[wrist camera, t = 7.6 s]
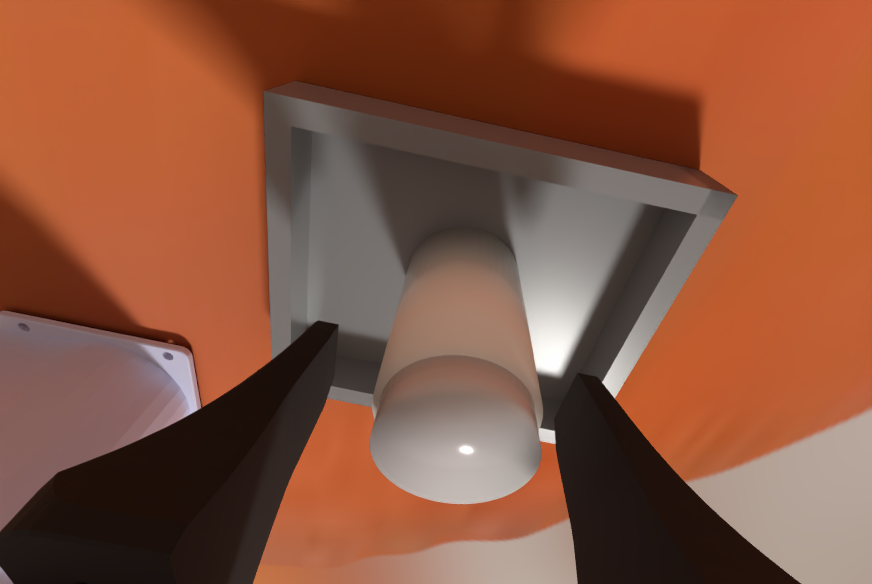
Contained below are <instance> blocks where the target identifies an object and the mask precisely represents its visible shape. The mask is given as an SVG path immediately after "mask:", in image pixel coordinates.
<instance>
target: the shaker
mask: <svg viewBox="0 0 872 584" xmlns="http://www.w3.org/2000/svg"><path fill="white" fill-rule="evenodd" d="M372 412H373V416H374V419H375V421H374V425H373V429H372V433H371V437H370V451H371V454H372V458H373V460H374V462H375V464H376V466H377V467H378V469H379V470H380V471H381V472H382V473H383V475H384V476H385V477H386V478H388V479H389V480H390V481H391V482H392V483H394V484H395V485H397V486H398V487H400V488H401V489H403V490H405V491H407V492H409V493H411V494H414V495H416V496H419V497H422V498H425V499H428V500H432V501H437V502H443V503H452V504H473V503H481V502H487V501H491V500H495V499H498V498H501V497H504V496H506V495H509V494H511V493H513V492H515V491H516V490H518V489H520V488H521V487H522V486H524V485H525V484H526V483H527V482H528V481H529V480H530V479H531V478H532V477H533V475H534V474H535V473H536V471H537V469H538V467H539V464H540V460H541V445H540V438H539V432H538V431H539V429H540V426H541V423H542V419H543V405H542V399H541V393H540V387H539V382H538V376H537V371H536V365H535V359H534V354H533V348H532V343H531V337H530V332H529V326H528V320H527V315H526V309H525V304H524V298H523V292H522V287H521V281H520V276H519V270H518V265H517V262H516V259H515V257H514V255H513V253H512V252H511V250H510V249H509V247H508V246H507V245H506V244H505V243H504V242H503V241H502V240H500V239H499V238H498V237H496V236H495V235H493V234H491V233H489V232H487V231H484V230H481V229H477V228H472V227H454V228H448V229H445V230H442V231H439V232H437V233H435V234H433V235H431V236H430V237H428V238H427V239H425V240H424V241H423V242H422V243H421V244H420V245H419V246H418V247H417V249H416V250H415V252H414V253H413V255H412V257H411V260H410V263H409V266H408V270H407V274H406V277H405V281H404V285H403V288H402V292H401V295H400V299H399V303H398V306H397V310H396V314H395V317H394V321H393V324H392V328H391V332H390V335H389V339H388V343H387V346H386V350H385V353H384V357H383V361H382V364H381V368H380V372H379V375H378V379H377V382H376V386H375V390H374V393H373V398H372Z"/></svg>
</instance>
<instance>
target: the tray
mask: <svg viewBox="0 0 872 584" xmlns="http://www.w3.org/2000/svg"><path fill="white" fill-rule="evenodd" d="M263 104H264V136H265V167H266V198H267V229H268V261H269V292H270V323H271V354H272V359H274V358H275V357H276V356H277V355H278V354H280V353H281V352H282V351H283V350H285V349H286V348H287V347H288V346H289V345H290V344H292V343H293V342H294V341H295V340H296V339H297V338H298V337H299V336H301V335H302V334H303V333H304V332H305V331H306V330H307V329H308V328H309V327H310V326H311V325H312V324H313V323H315V322H316V321H318V320H319V321H324V322H329V323H334V324H339V329H338V341H337V353H336V366H335V376H334V379H333V382H332V385H331V388H330V391H329V394H328V397H327V398H329V399H334V400H339V401H344V402H349V403H354V404H359V405H364V406H369V407H372V398H373V393H374V390H375V386H376V382H377V379H378V375H379V372H380V368H381V364H382V361H383V357H384V353H385V350H386V346H387V343H388V339H389V335H390V332H391V328H392V324H393V321H394V317H395V314H396V310H397V306H398V303H399V299H400V295H401V292H402V288H403V285H404V281H405V277H406V274H407V270H408V266H409V263H410V260H411V257H412V255H413V253H414V252H415V250H416V249H417V247H418V246H419V245H420V244H421V243H422V242H423V241H424V240H425V239H427V238H428V237H430V236H431V235H433V234H435V233H437V232H439V231H442V230H445V229H448V228H454V227H472V228H477V229H481V230H484V231H487V232H489V233H491V234H493V235H495V236H496V237H498V238H499V239H500V240H502V241H503V242H504V243H505V244H506V245H507V246H508V247H509V249H510V250H511V252H512V253H513V255H514V257H515V259H516V262H517V265H518V270H519V276H520V281H521V287H522V292H523V298H524V304H525V309H526V315H527V320H528V326H529V332H530V337H531V343H532V348H533V354H534V359H535V365H536V371H537V376H538V382H539V387H540V393H541V399H542V405H543V419H542V423H541V426H540V429H539V431H538V432H539V438H540V441H543V442H548V443H553V444H556V442H555V426H554V418H555V416H556V414H557V412H558V410H559V408H560V406H561V404H562V402H563V400H564V398H565V396H566V394H567V392H568V390H569V388H570V386H571V384H572V382H573V380H574V379H575V377H576V375H577V373H581V374H586V375H591V376H596V377H598V378H599V379H600V380H601V382H602V383H603V384H604V385H605V387H606V388H607V389H608V391H609V392H610V393H611V394H612V396H613V397H614V398H615V397H616V395H617V394H618V392H619V390H620V389H621V387H622V385H623V384H624V382H625V380H626V379H627V377H628V375H629V374H630V372H631V370H632V369H633V367H634V366H635V364H636V362H637V361H638V359H639V357H640V356H641V354H642V352H643V351H644V349H645V347H646V346H647V344H648V342H649V341H650V339H651V338H652V336H653V334H654V333H655V331H656V329H657V328H658V326H659V324H660V323H661V321H662V319H663V318H664V316H665V314H666V313H667V311H668V310H669V308H670V306H671V305H672V303H673V301H674V300H675V298H676V296H677V295H678V293H679V291H680V290H681V288H682V287H683V285H684V283H685V282H686V280H687V278H688V277H689V275H690V273H691V272H692V270H693V268H694V267H695V265H696V263H697V262H698V260H699V259H700V257H701V255H702V254H703V252H704V250H705V249H706V247H707V245H708V244H709V242H710V240H711V239H712V237H713V235H714V234H715V232H716V231H717V229H718V227H719V226H720V224H721V222H722V221H723V219H724V217H725V216H726V214H727V212H728V211H729V209H730V207H731V206H732V204H733V203H734V201H735V199H736V198H737V196H738V195H736V194H735V193H733V192H732V191H730V190H729V189H727V188H726V187H725V186H723V185H722V184H720V183H719V182H717V181H716V180H714V179H713V178H711V177H710V176H708V175H707V174H705V173H704V172H702V171H701V170H697V169H692V168H688V167H683V166H679V165H674V164H670V163H665V162H661V161H656V160H652V159H647V158H642V157H638V156H633V155H629V154H624V153H620V152H615V151H611V150H606V149H602V148H597V147H593V146H588V145H584V144H579V143H575V142H570V141H566V140H561V139H557V138H552V137H548V136H543V135H538V134H534V133H529V132H525V131H520V130H516V129H511V128H507V127H502V126H498V125H493V124H489V123H484V122H480V121H475V120H471V119H466V118H462V117H457V116H453V115H448V114H444V113H439V112H434V111H430V110H425V109H421V108H416V107H412V106H407V105H403V104H398V103H394V102H389V101H385V100H380V99H376V98H371V97H367V96H362V95H358V94H353V93H349V92H344V91H340V90H335V89H330V88H326V87H321V86H317V85H312V84H308V83H303V82H299V81H293V82H290V83H287V84H284V85H280V86H277V87H274V88H271V89H268V90H265V91H263Z"/></svg>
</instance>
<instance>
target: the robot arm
mask: <svg viewBox="0 0 872 584" xmlns="http://www.w3.org/2000/svg"><path fill="white" fill-rule="evenodd" d="M338 329H339V324H334V323H329V322H324V321H319V320H318V321H316V322H315V323H313V324H312V325H311V326H310V327H309V328H308V329H307V330H306V331H305V332H304V333H303V334H302V335H301V336H299V337H298V338H297V339H296V340H295V341H294V342H293V343H292V344H290V345H289V346H288V347H287V348H286V349H285V350H283V351H282V352H281V353H280V354H278V355H277V356H276V357H275V358H274V359H272V360H271V361H270V362H269V363H267V364H266V365H265V366H264V367H262V368H261V369H259V370H258V371H257V372H255V373H254V374H253V375H251V376H250V377H249V378H247V379H246V380H244V381H243V382H242V383H240V384H239V385H237V386H236V387H234V388H233V389H231V390H230V391H228V392H227V393H225V394H224V395H222V396H220V397H219V398H217V399H216V400H214V401H212V402H211V403H209V404H207V405H206V406H204V407H202V408H201V404H200V398H199V392H198V386H197V380H196V374H195V368H194V363H193V357H192V354H191V352H190V351H189V349H187V348H185V347H183V346H179V345H174V344H169V343H164V342H159V341H154V340H149V339H144V338H139V337H134V336H129V335H124V334H119V333H114V332H109V331H104V330H99V329H94V328H89V327H84V326H80V325H75V324H70V323H65V322H60V321H55V320H50V319H45V318H40V317H35V316H30V315H25V314H20V313H15V312H10V311H0V584H253V581H254V578H255V575H256V572H257V569H258V566H259V563H260V560H261V557H262V554H263V552H264V549H265V546H266V543H267V540H268V537H269V534H270V532H271V529H272V526H273V523H274V520H275V518H276V515H277V512H278V509H279V507H280V504H281V501H282V498H283V496H284V493H285V490H286V487H287V485H288V483H289V480H290V478H291V476H292V473H293V471H294V469H295V467H296V465H297V463H298V461H299V458H300V456H301V454H302V452H303V450H304V448H305V446H306V444H307V442H308V439H309V437H310V435H311V433H312V431H313V429H314V427H315V425H316V423H317V420H318V418H319V416H320V414H321V412H322V410H323V408H324V405H325V402H326V400H327V397H328V394H329V391H330V388H331V385H332V382H333V379H334V376H335V366H336V353H337V341H338ZM554 426H555V442H556V452H557V458H558V463H559V468H560V473H561V479H562V483H563V488H564V493H565V498H566V503H567V508H568V513H569V518H570V523H571V529H572V534H573V541H574V550H575V560H576V570H577V580H578V584H801V583H799V582H798V581H797V580H795V579H794V578H793V577H792V576H790V575H789V574H788V573H786V572H785V571H784V570H783V569H781V568H780V567H779V566H778V565H776V564H775V563H774V562H773V561H771V560H770V559H769V558H768V557H766V556H765V555H764V554H763V553H761V552H760V551H759V550H758V549H757V548H755V547H754V546H753V545H752V544H751V543H749V542H748V541H747V540H746V539H745V538H743V537H742V536H741V535H740V534H739V533H738V532H737V531H736V530H735V529H733V528H732V527H731V526H730V525H729V524H728V523H727V522H726V521H724V520H723V519H722V518H721V517H720V516H719V515H718V514H717V513H716V512H715V511H714V510H712V509H711V508H710V507H709V506H708V505H707V504H706V503H705V502H704V501H703V500H702V499H701V498H700V497H699V496H698V495H697V494H696V493H695V492H694V491H693V490H692V489H691V488H690V487H689V486H688V485H687V484H686V483H685V482H684V481H683V480H682V479H681V478H680V477H679V475H678V474H677V473H676V472H675V471H674V470H673V469H672V468H671V467H670V466H669V464H668V463H667V462H666V461H665V460H664V459H663V458H662V457H661V455H660V454H659V453H658V452H657V451H656V450H655V449H654V447H653V446H652V445H651V444H650V443H649V441H648V440H647V439H646V438H645V437H644V435H643V434H642V433H641V432H640V430H639V429H638V428H637V427H636V425H635V424H634V423H633V422H632V420H631V419H630V418H629V416H628V415H627V414H626V413H625V411H624V410H623V409H622V407H621V406H620V405H619V404H618V402H617V401H616V400H615V398H614V397H613V396H612V394H611V393H610V392H609V391H608V389H607V388H606V387H605V385H604V384H603V383H602V382H601V380H600V379H599V378H598V377H596V376H591V375H586V374H581V373H577V375H576V377H575V379H574V380H573V382H572V384H571V386H570V388H569V390H568V392H567V394H566V396H565V398H564V400H563V402H562V404H561V406H560V408H559V410H558V412H557V414H556V416H555V418H554Z"/></svg>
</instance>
